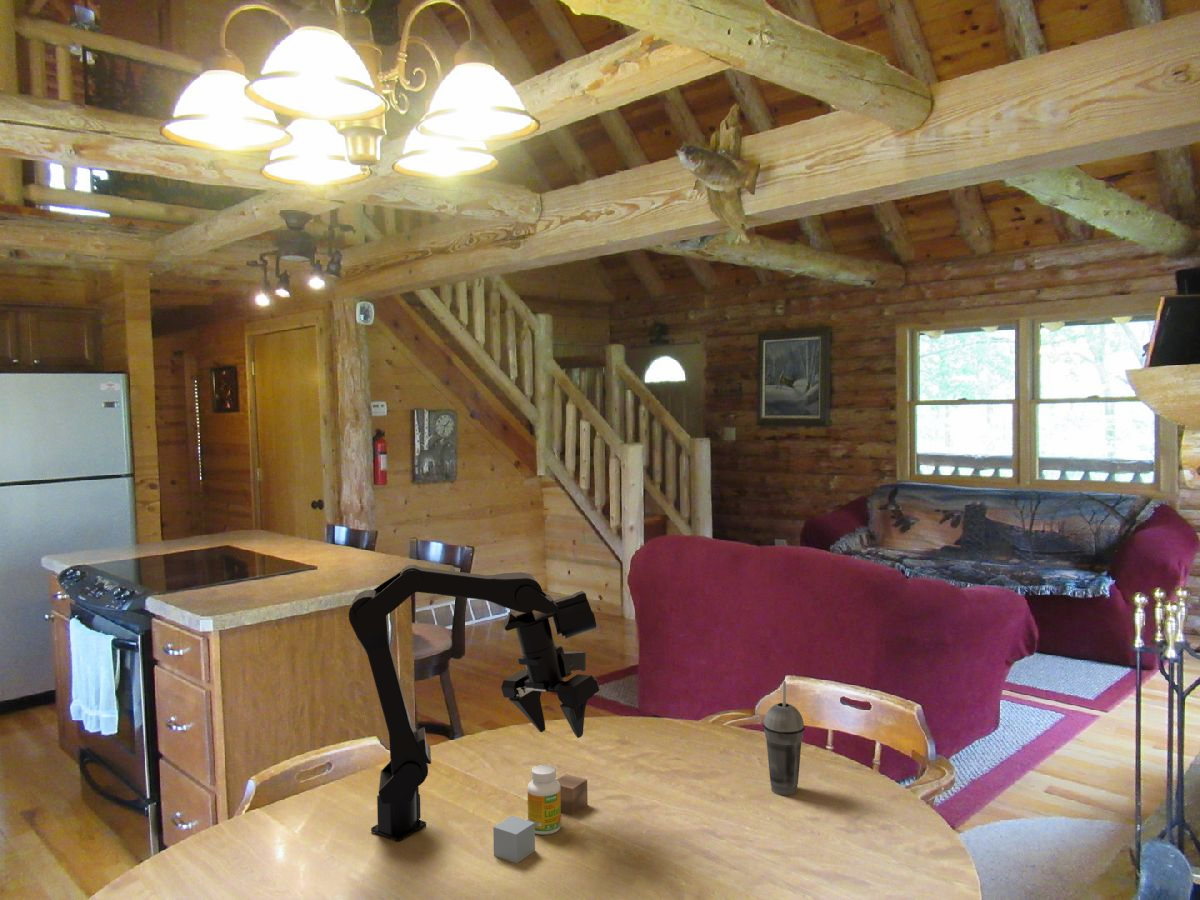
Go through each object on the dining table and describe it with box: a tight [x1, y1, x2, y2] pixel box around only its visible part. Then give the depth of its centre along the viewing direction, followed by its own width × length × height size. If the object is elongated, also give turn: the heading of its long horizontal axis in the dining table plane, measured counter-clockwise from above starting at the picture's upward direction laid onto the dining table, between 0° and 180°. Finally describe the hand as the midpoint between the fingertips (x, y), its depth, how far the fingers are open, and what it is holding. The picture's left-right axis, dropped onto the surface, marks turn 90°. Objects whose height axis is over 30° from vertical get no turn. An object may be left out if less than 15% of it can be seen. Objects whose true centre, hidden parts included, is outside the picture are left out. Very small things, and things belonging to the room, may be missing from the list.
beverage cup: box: [762, 680, 806, 797], centre depth 153 cm, size 7×7×20 cm
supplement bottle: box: [527, 764, 562, 836], centre depth 140 cm, size 5×5×10 cm
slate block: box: [492, 815, 536, 864], centre depth 132 cm, size 4×4×4 cm
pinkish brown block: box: [556, 773, 589, 816], centre depth 147 cm, size 4×4×4 cm
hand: (561, 733), depth 145 cm, fingers open, 9 cm apart
